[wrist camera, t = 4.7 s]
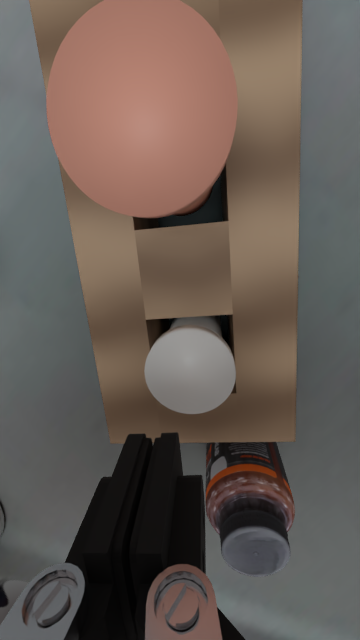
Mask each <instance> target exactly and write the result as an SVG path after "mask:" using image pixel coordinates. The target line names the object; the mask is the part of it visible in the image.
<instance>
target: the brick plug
mask: <svg viewBox="0 0 360 640" xmlns="http://www.w3.org/2000/svg"><path fill="white" fill-rule="evenodd" d="M237 109H238V97H237V86H236V81H235V76H234V71H233V68H232V65H231V62H230V59H229V56H228V53H227V51H226V49H225V47H224V45H223V43H222V41H221V40H220V38H219V37H218V35H217V34H216V32H215V31H214V29H213V28H212V27H211V26H210V24H209V23H208V22H207V21H206V20H205V19H204V18H203V17H202V16H201V15H200V14H199V13H198V12H196V11H195V10H194V9H193V8H192V7H190V6H188V5H187V4H185V3H183V2H182V1H180V0H104V1H102V2H100V3H98V4H97V5H95V6H94V7H92V8H91V9H89V10H88V11H87V12H86V13H85V14H84V15H83V16H82V17H80V18H79V19H78V20H77V22H76V23H75V24H74V25H73V26H72V28H71V29H70V30H69V31H68V33H67V35H66V36H65V38H64V40H63V41H62V43H61V45H60V47H59V49H58V51H57V53H56V56H55V58H54V62H53V65H52V68H51V71H50V76H49V81H48V88H47V119H48V126H49V131H50V135H51V139H52V143H53V146H54V148H55V151H56V154H57V156H58V158H59V160H60V162H61V164H62V166H63V168H64V169H65V171H66V172H67V174H68V175H69V177H70V178H71V179H72V181H73V182H74V183H75V184H76V186H77V187H78V188H79V189H80V190H81V191H82V192H83V193H84V194H85V195H87V196H88V197H89V198H91V199H92V200H93V201H95V202H96V203H98V204H99V205H101V206H103V207H105V208H107V209H109V210H112V211H114V212H117V213H120V214H124V215H128V216H133V217H140V218H160V217H166V216H170V215H175V216H185V215H189V214H192V213H194V212H196V211H197V210H199V209H200V208H201V207H202V206H203V205H204V204H205V203H206V201H207V200H208V198H209V196H210V194H211V192H212V188H213V185H214V183H215V182H216V180H217V179H218V177H219V176H220V174H221V172H222V170H223V168H224V166H225V164H226V161H227V159H228V156H229V153H230V150H231V146H232V142H233V138H234V133H235V128H236V121H237Z"/></svg>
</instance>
